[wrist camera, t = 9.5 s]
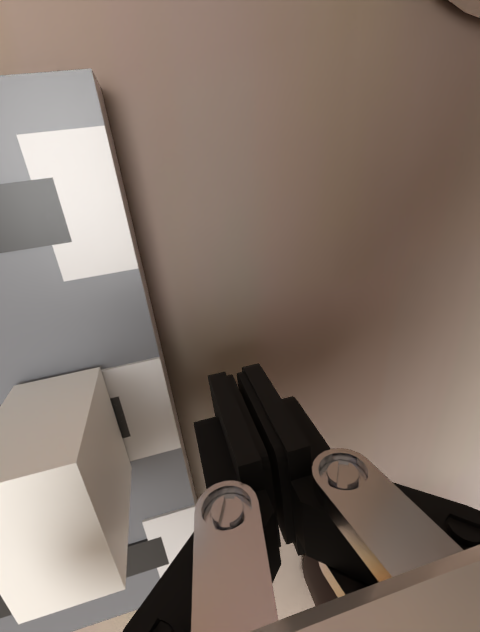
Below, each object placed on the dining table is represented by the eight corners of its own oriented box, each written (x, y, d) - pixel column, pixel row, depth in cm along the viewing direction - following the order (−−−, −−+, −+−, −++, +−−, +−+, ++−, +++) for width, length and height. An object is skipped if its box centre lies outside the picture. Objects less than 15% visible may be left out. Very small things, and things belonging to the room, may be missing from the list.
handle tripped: (100, 366, 11) (76, 463, 7) (131, 467, 12) (125, 589, 9) (13, 385, 10) (-59, 498, 7) (57, 487, 12) (18, 624, 8)
